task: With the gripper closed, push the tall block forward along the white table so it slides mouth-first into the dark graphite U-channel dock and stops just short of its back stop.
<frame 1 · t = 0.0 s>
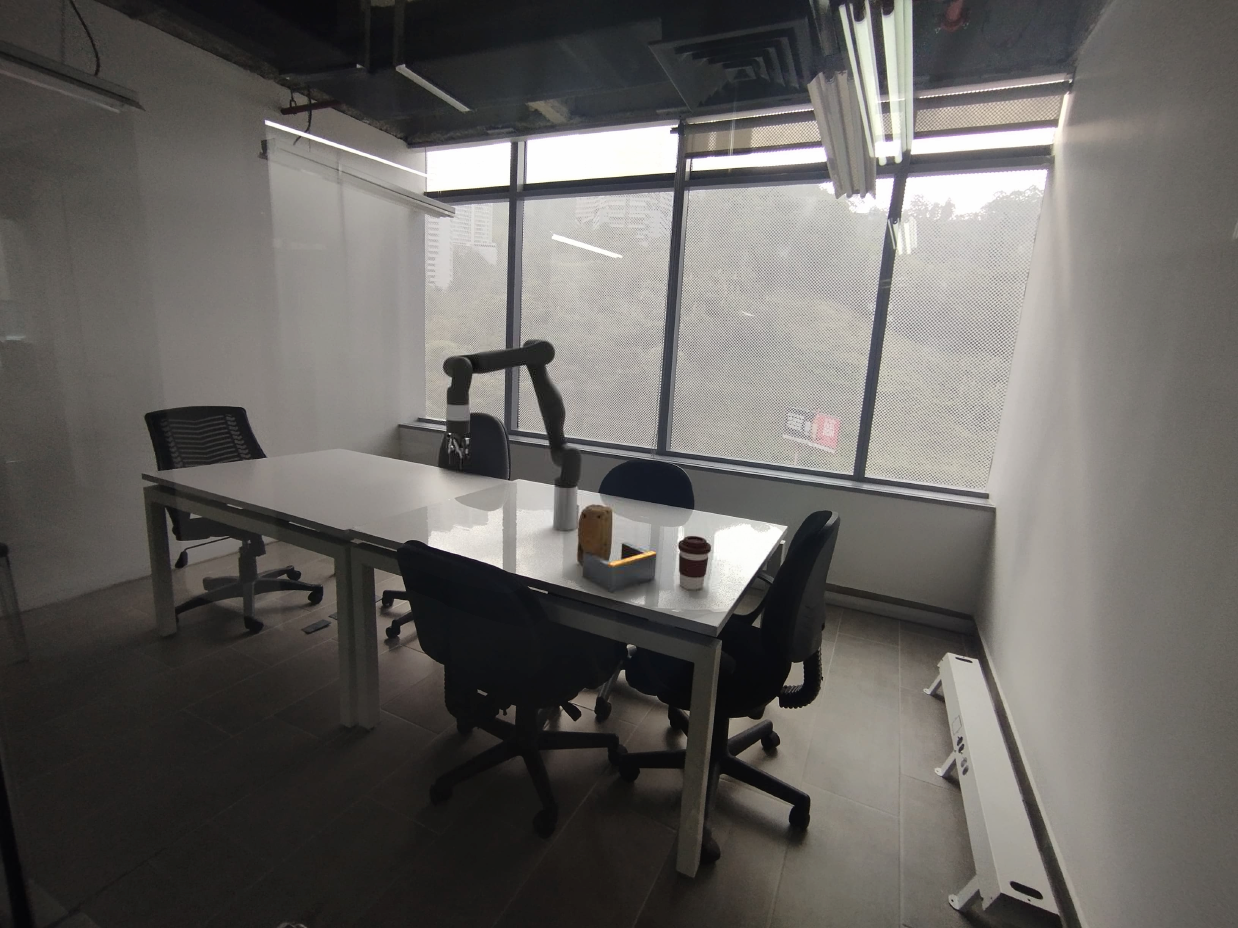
hand: (458, 466, 177), 29 cm above the table, fingers open, 8 cm apart
coffee cup: (691, 585, 164), on the table
block: (592, 565, 176), on the table
dock: (616, 576, 167), on the table
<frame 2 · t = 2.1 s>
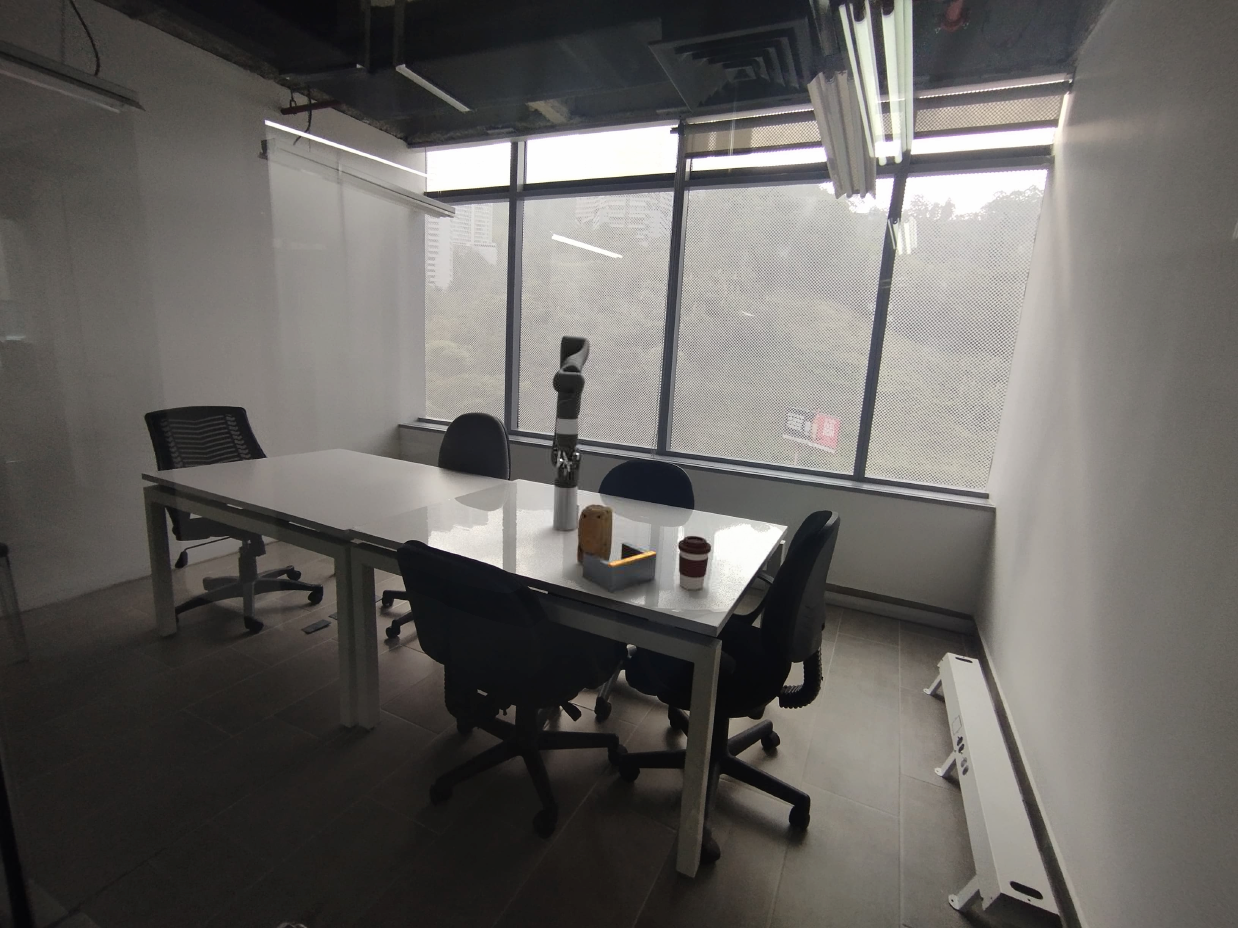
hand: (565, 479, 183), 25 cm above the table, fingers open, 5 cm apart
nothing on the table moved.
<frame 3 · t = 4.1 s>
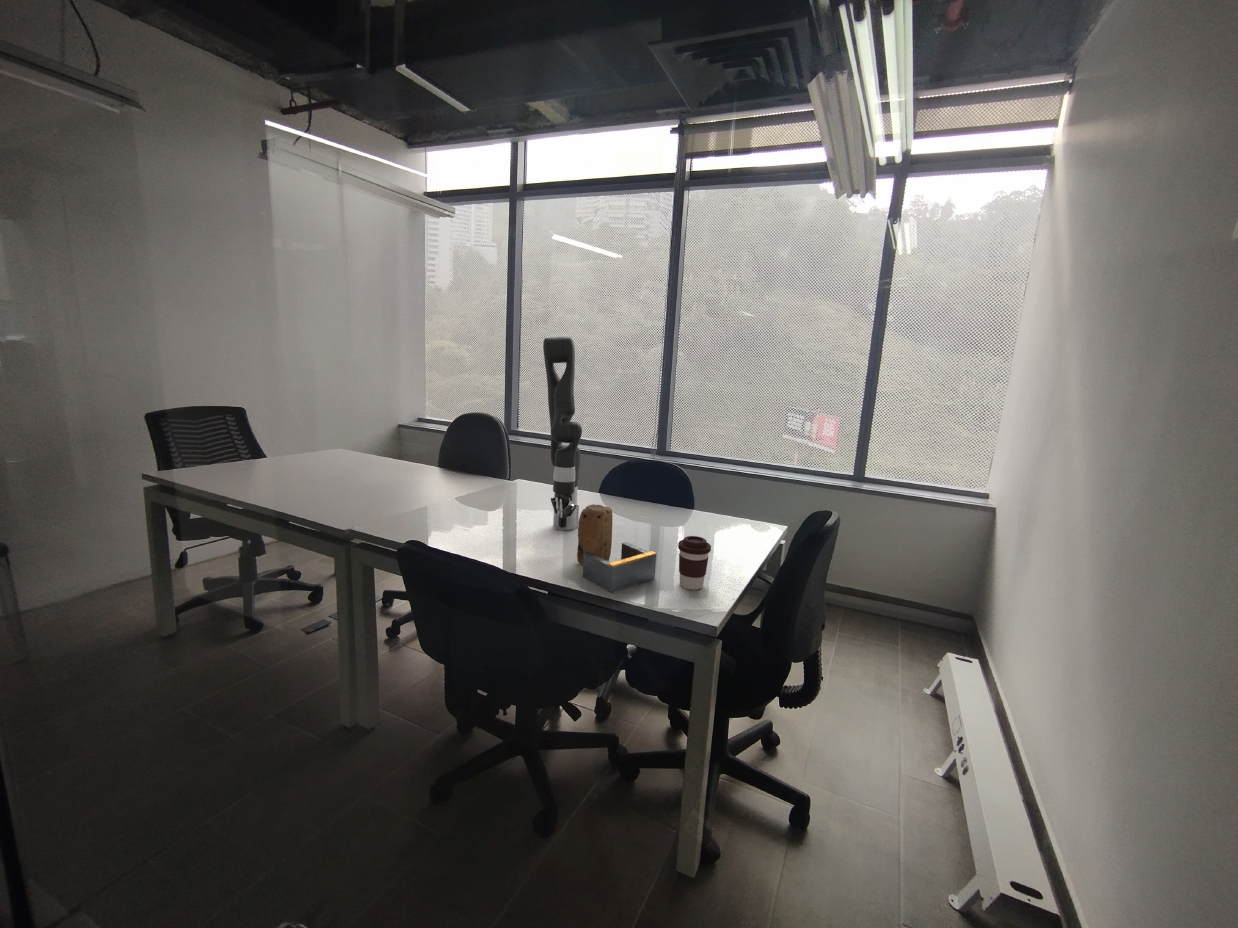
hand: (562, 526, 186), 8 cm above the table, fingers closed
nothing on the table moved.
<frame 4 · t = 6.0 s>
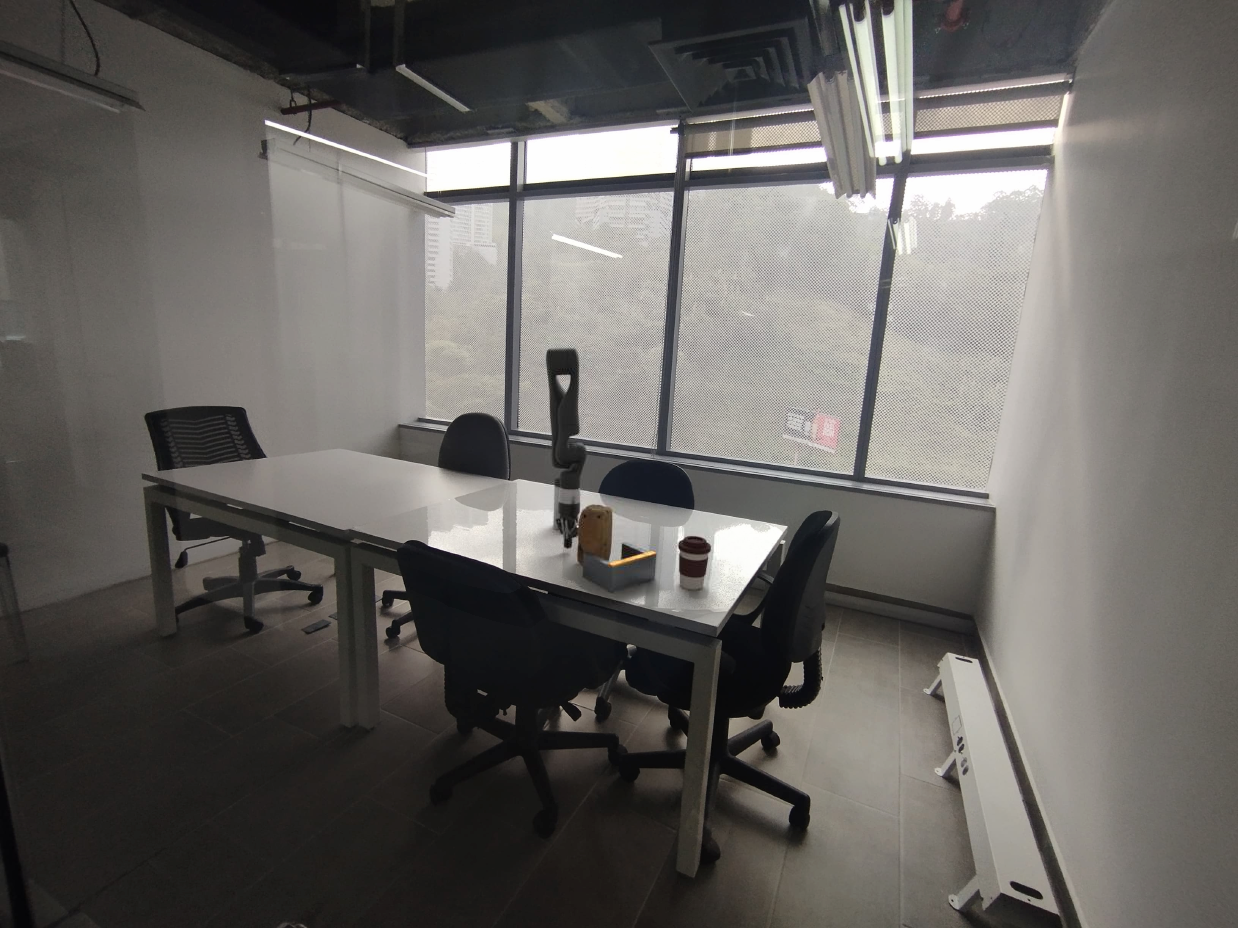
hand: (567, 547, 186), 2 cm above the table, fingers closed
nothing on the table moved.
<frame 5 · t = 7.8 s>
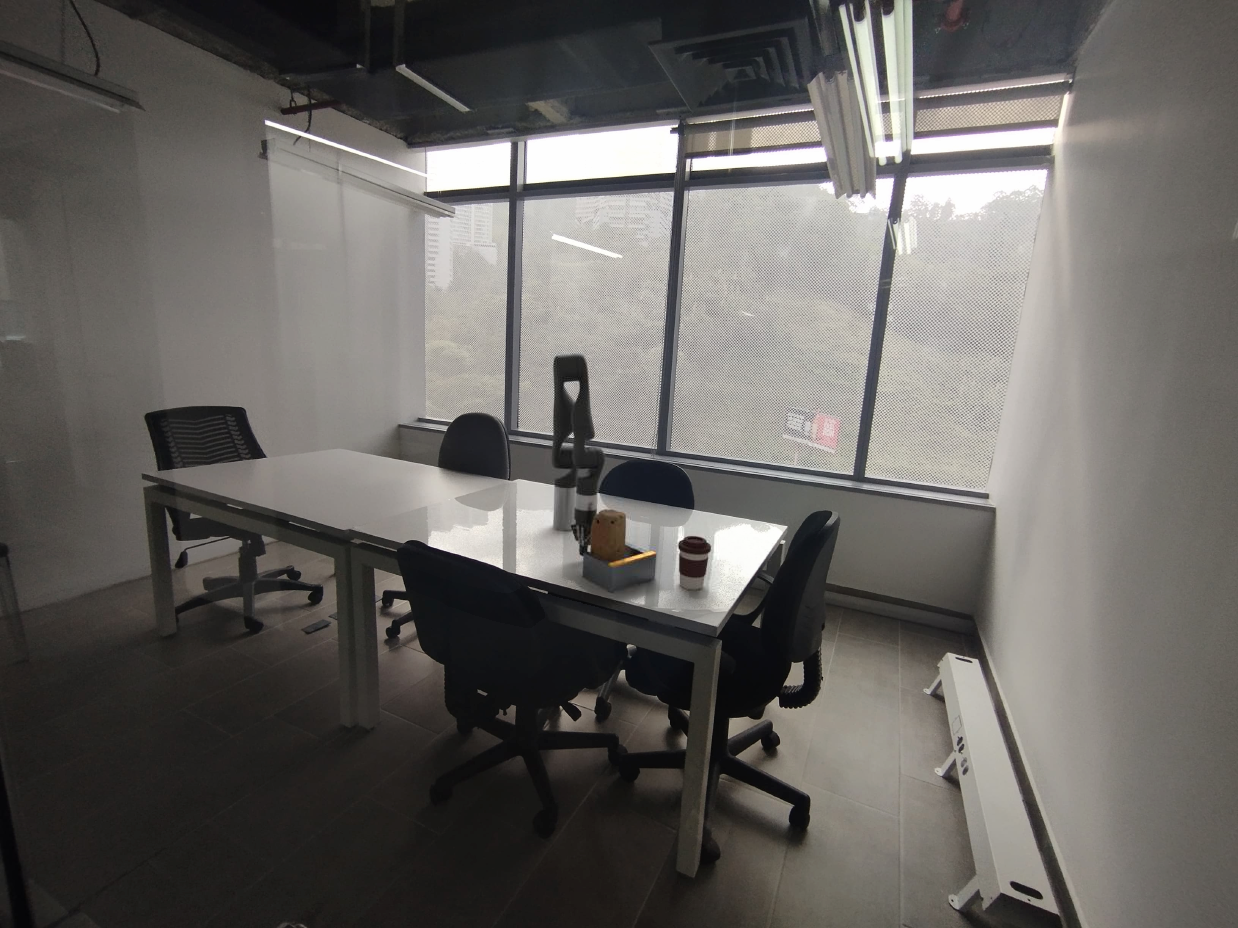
hand: (583, 555, 179), 2 cm above the table, fingers closed
block: (605, 571, 171), on the table, touching hand
everything else where it was.
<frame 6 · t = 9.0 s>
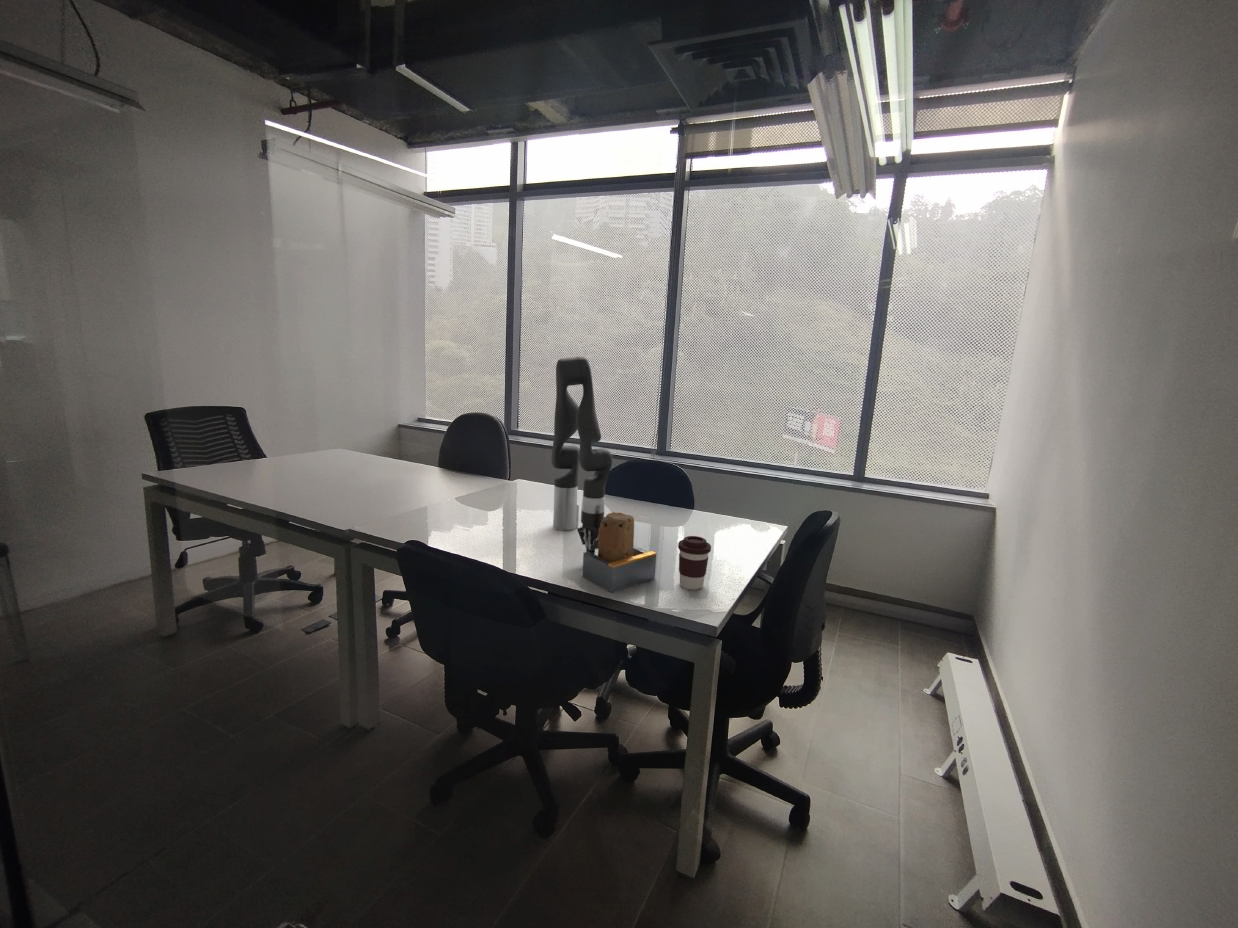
hand: (590, 558, 177), 2 cm above the table, fingers closed
block: (613, 575, 168), on the table, touching hand
everything else where it was.
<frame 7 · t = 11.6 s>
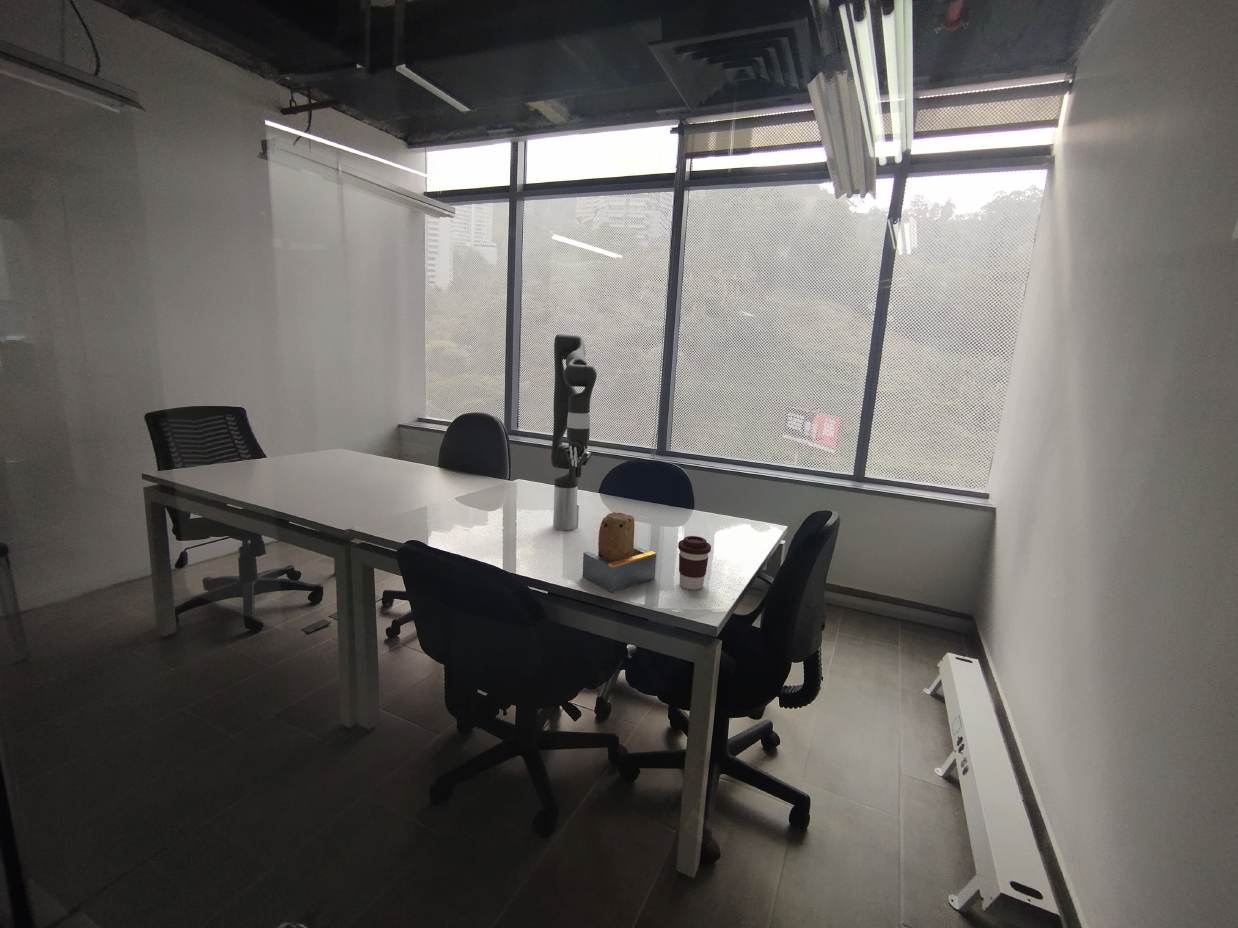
hand: (576, 477, 178), 28 cm above the table, fingers closed
block: (613, 576, 168), on the table
everything else where it was.
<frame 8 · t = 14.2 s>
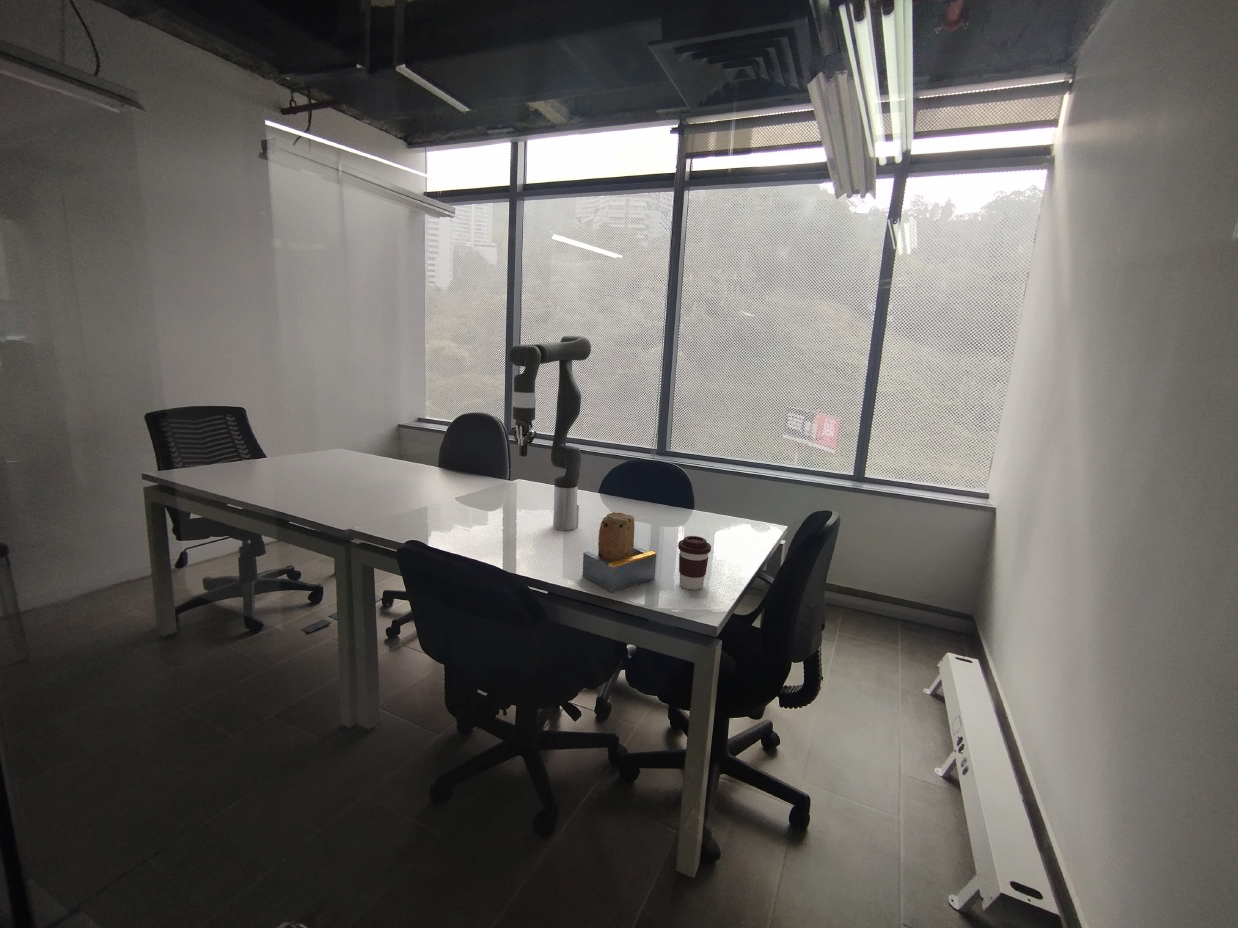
hand: (523, 456, 182), 33 cm above the table, fingers closed
nothing on the table moved.
at the end: block inside the target area on the dock (0.6 cm from its centre), point 0.0 cm above the dock's base; block tilted 0° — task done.
